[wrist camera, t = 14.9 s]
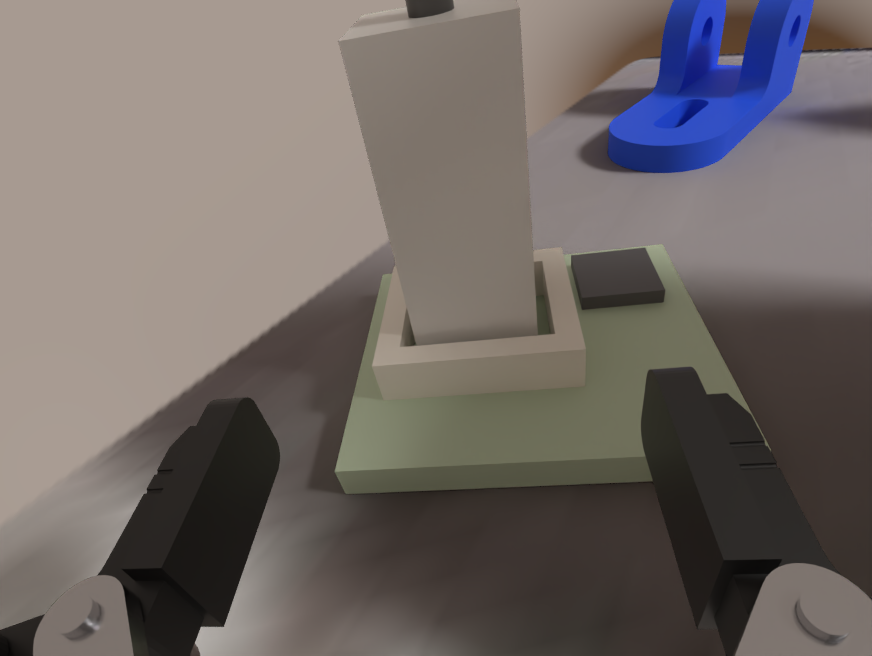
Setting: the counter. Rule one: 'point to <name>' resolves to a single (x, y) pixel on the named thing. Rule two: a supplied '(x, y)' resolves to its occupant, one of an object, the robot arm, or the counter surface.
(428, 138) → the plug
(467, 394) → the board
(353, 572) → the counter surface
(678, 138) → the bracket
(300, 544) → the counter surface
